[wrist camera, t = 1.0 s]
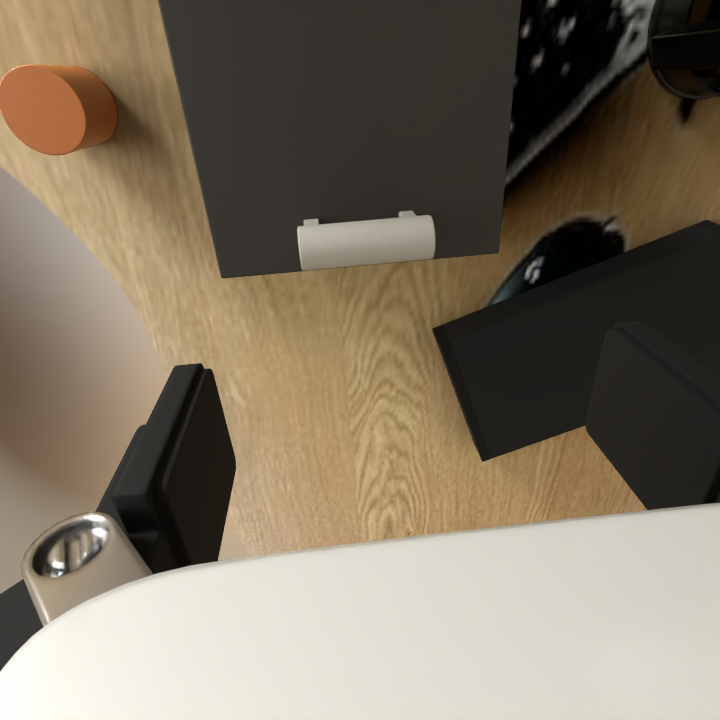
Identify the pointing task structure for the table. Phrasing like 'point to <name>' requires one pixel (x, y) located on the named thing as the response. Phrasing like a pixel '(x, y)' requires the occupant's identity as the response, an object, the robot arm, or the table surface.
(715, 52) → the french press
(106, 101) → the orange cylinder
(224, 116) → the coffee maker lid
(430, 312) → the table surface
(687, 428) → the robot arm
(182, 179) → the table surface
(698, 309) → the external hard drive
